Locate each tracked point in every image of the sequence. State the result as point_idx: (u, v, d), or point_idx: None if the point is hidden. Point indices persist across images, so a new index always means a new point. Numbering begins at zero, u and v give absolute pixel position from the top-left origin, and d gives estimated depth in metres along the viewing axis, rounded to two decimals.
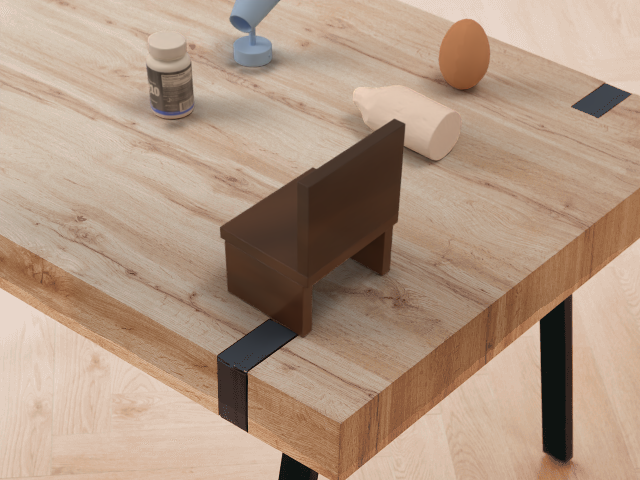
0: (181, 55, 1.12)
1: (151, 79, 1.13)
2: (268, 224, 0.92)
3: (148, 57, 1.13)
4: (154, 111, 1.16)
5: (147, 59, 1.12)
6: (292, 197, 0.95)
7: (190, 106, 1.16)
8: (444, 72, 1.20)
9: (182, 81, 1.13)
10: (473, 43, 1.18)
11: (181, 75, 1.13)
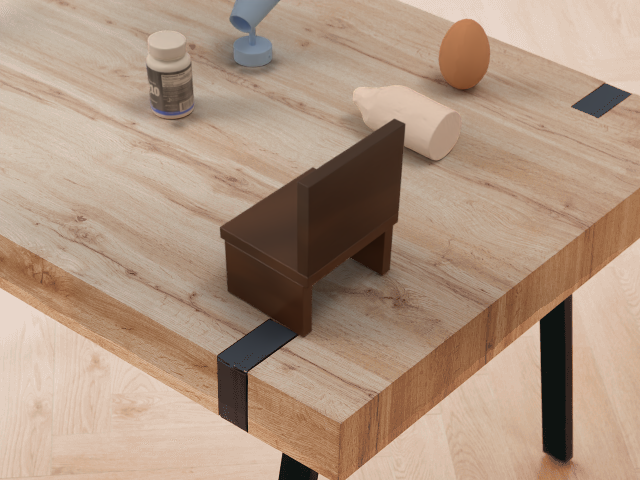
0: (181, 55, 1.12)
1: (151, 79, 1.13)
2: (268, 224, 0.92)
3: (148, 57, 1.13)
4: (154, 111, 1.16)
5: (147, 59, 1.12)
6: (292, 197, 0.95)
7: (190, 106, 1.16)
8: (444, 72, 1.20)
9: (182, 81, 1.13)
10: (473, 43, 1.18)
11: (181, 75, 1.13)
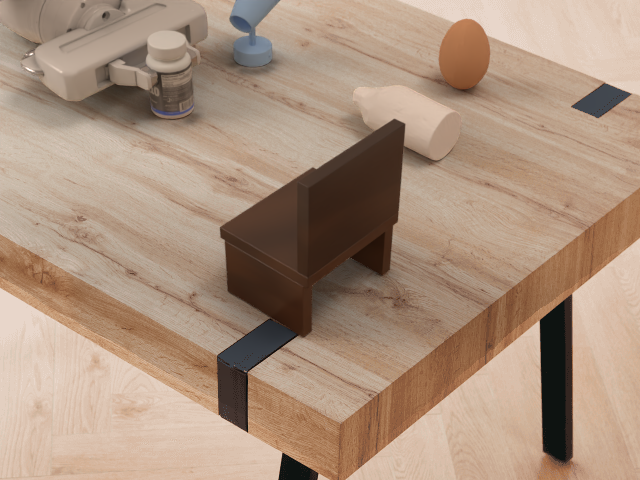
0: (181, 55, 1.12)
1: None
2: (268, 224, 0.92)
3: (148, 57, 1.13)
4: (154, 111, 1.16)
5: (147, 59, 1.12)
6: (292, 197, 0.95)
7: (190, 106, 1.16)
8: (444, 72, 1.20)
9: (182, 81, 1.13)
10: (473, 43, 1.18)
11: (181, 75, 1.13)
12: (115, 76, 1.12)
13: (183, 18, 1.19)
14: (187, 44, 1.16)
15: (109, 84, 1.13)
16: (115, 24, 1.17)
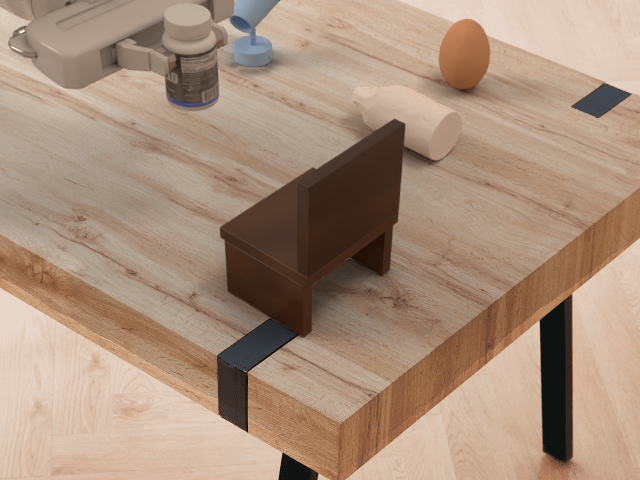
0: (205, 33, 0.91)
1: None
2: (268, 224, 0.92)
3: (164, 36, 0.92)
4: (171, 102, 0.95)
5: (163, 38, 0.92)
6: (292, 197, 0.95)
7: (214, 96, 0.96)
8: (444, 72, 1.20)
9: (206, 65, 0.93)
10: (473, 43, 1.18)
11: (204, 58, 0.92)
12: (124, 59, 0.92)
13: None
14: (211, 21, 0.96)
15: (117, 69, 0.93)
16: None
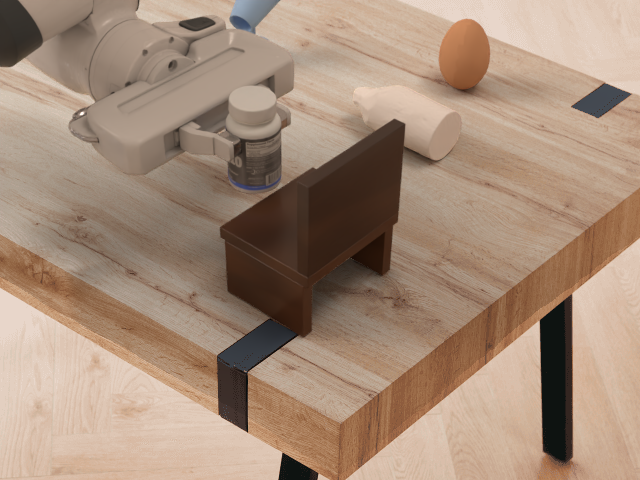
0: (271, 118, 0.89)
1: None
2: (268, 224, 0.92)
3: (228, 120, 0.90)
4: (233, 184, 0.93)
5: (227, 122, 0.90)
6: (292, 197, 0.95)
7: (277, 178, 0.93)
8: (444, 72, 1.20)
9: (271, 149, 0.91)
10: (473, 43, 1.18)
11: (270, 142, 0.90)
12: (188, 143, 0.90)
13: (267, 67, 0.96)
14: None
15: (179, 152, 0.91)
16: (183, 75, 0.95)
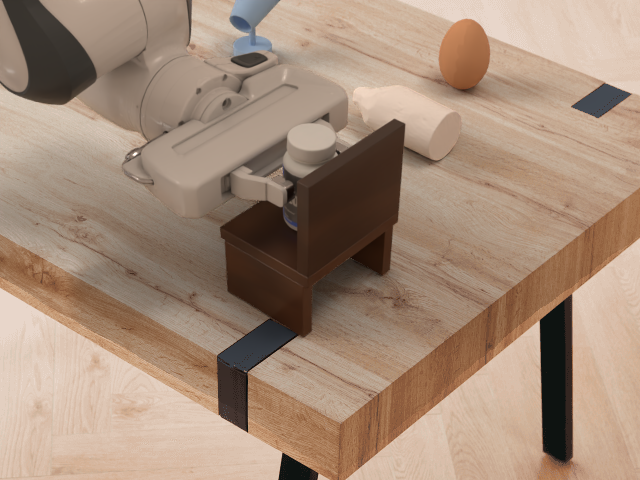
0: (330, 157, 0.87)
1: None
2: (268, 224, 0.92)
3: (286, 158, 0.88)
4: (289, 223, 0.91)
5: (285, 161, 0.88)
6: None
7: None
8: (444, 72, 1.20)
9: None
10: (473, 43, 1.18)
11: None
12: (239, 188, 0.87)
13: (322, 105, 0.94)
14: (336, 137, 0.92)
15: (235, 194, 0.89)
16: (237, 113, 0.93)
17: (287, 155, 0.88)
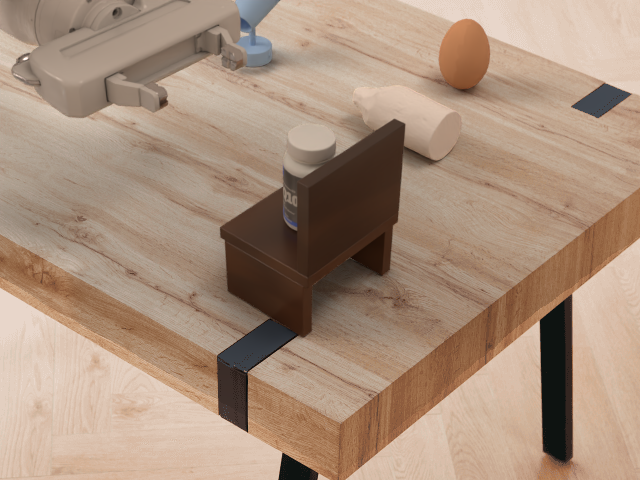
0: (330, 157, 0.87)
1: (289, 186, 0.88)
2: (268, 224, 0.92)
3: (286, 158, 0.88)
4: (289, 223, 0.91)
5: (285, 161, 0.88)
6: None
7: None
8: (444, 72, 1.20)
9: None
10: (473, 43, 1.18)
11: None
12: (114, 94, 0.90)
13: (212, 16, 0.97)
14: (231, 41, 0.95)
15: None
16: (128, 23, 0.96)
17: (287, 155, 0.88)
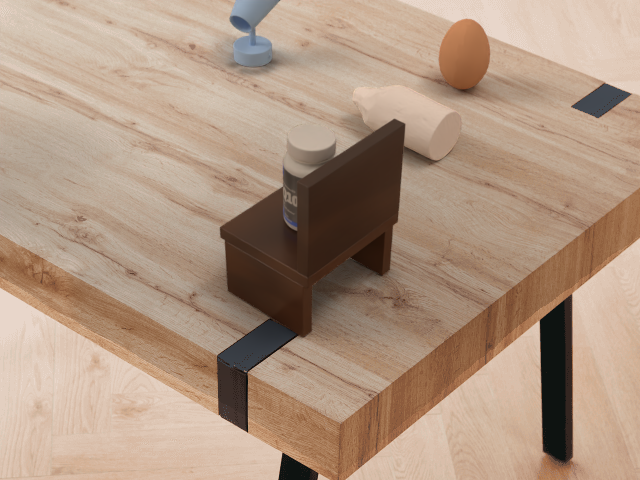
0: (330, 157, 0.87)
1: (289, 186, 0.88)
2: (268, 224, 0.92)
3: (286, 158, 0.88)
4: (289, 223, 0.91)
5: (285, 161, 0.88)
6: None
7: None
8: (444, 72, 1.20)
9: None
10: (473, 43, 1.18)
11: None
12: None
13: None
14: None
15: None
16: None
17: (287, 155, 0.88)
